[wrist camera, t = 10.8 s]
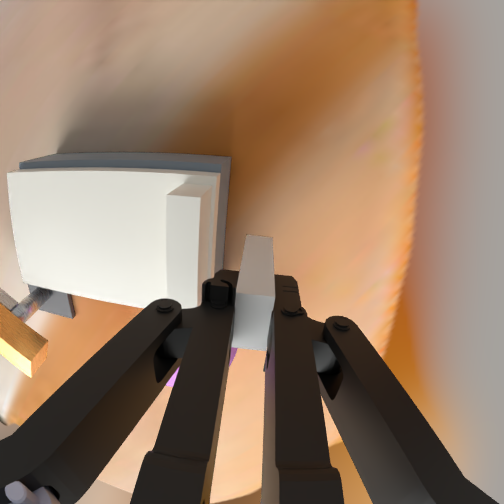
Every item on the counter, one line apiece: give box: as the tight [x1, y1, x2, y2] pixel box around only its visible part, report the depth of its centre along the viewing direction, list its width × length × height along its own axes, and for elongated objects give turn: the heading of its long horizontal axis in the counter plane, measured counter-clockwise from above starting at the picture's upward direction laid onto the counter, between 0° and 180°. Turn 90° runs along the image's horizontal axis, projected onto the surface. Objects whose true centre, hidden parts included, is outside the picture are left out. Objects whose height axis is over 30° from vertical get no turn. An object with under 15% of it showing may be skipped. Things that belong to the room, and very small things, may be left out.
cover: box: [7, 167, 221, 309], centre depth 17 cm, size 16×9×4 cm, turn 84°
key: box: [0, 287, 52, 377], centre depth 22 cm, size 3×11×9 cm, turn 60°
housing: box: [19, 152, 231, 319], centre depth 23 cm, size 22×17×5 cm
